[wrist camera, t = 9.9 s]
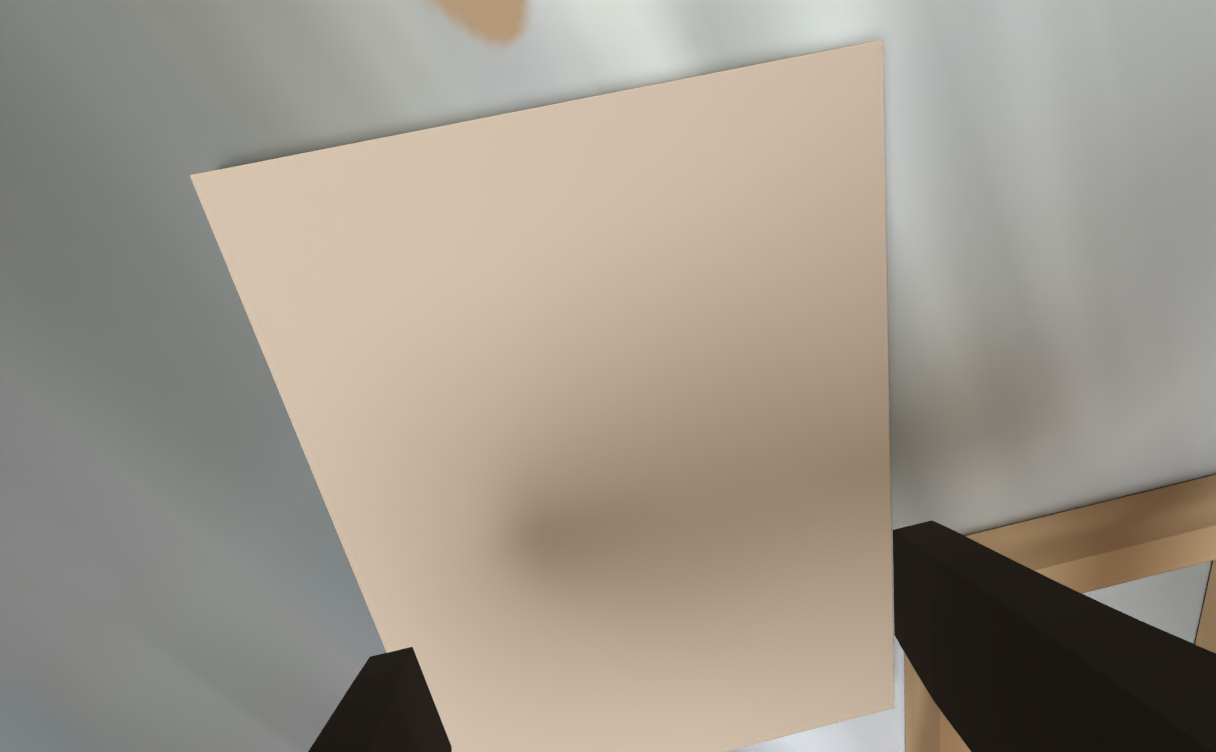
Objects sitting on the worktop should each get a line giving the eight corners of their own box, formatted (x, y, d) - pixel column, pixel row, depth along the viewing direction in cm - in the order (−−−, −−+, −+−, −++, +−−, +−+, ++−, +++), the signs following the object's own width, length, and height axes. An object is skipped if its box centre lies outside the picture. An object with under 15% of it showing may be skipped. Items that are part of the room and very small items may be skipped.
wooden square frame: (1270, 461, 16) (1342, 493, 14) (1196, 766, 20) (1247, 814, 18) (903, 551, 15) (942, 593, 14) (906, 845, 19) (936, 901, 18)
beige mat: (858, 45, 11) (883, 39, 10) (877, 681, 17) (893, 707, 16) (212, 172, 10) (189, 175, 10) (459, 789, 16) (456, 821, 15)
